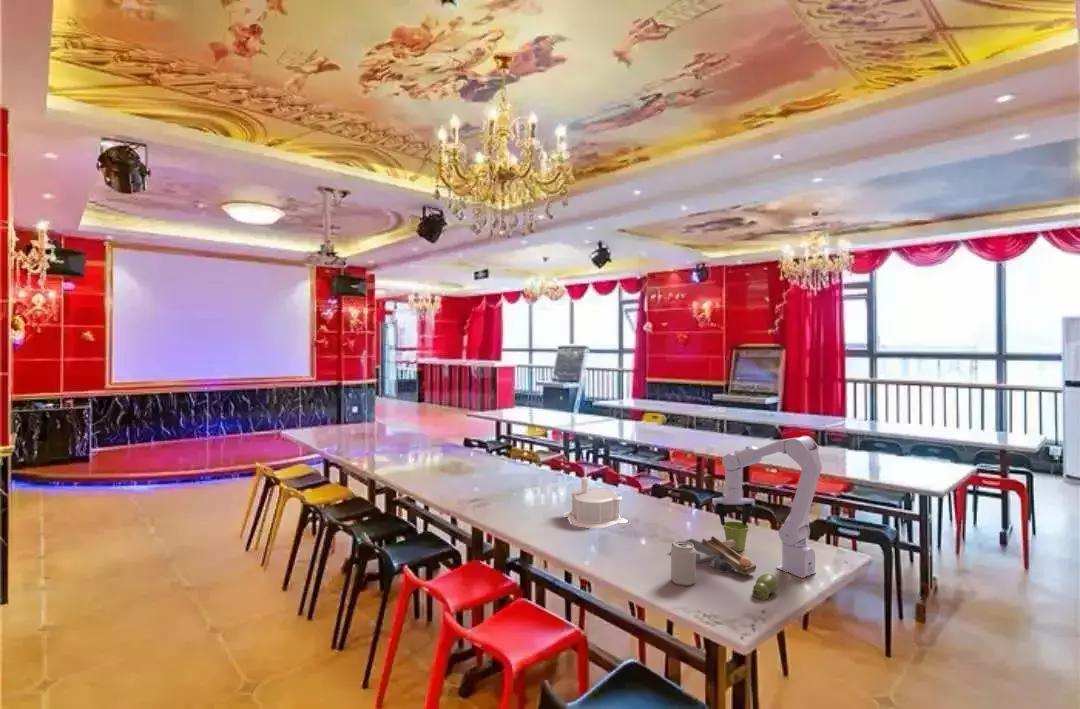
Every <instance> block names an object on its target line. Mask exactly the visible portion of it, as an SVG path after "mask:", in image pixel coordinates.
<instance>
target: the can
mask: <svg viewBox="0 0 1080 709" xmlns="http://www.w3.org/2000/svg"><path fill="white" fill-rule="evenodd" d="M696 571H697V562H696V549H695V548H694V545H693V544H692V543H690V542H686V541H683V540H679V541H678V540H677V541H674V542H673V546H672V545H671V548H670V579H671V580H672V581H673V583H674V584H675V583H676V585H677V584H678V586H681V587H690V586H692V585H693V584H694V583H696V581H697V578H696V576H697V575H696V573H697V572H696Z"/></svg>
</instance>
